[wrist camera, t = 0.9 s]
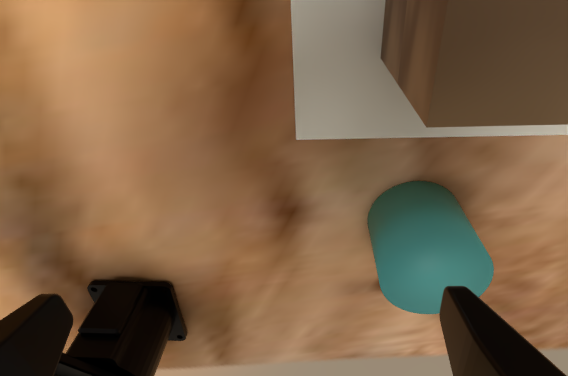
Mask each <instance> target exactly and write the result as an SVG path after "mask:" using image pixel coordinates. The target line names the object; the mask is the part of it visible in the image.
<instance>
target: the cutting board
mask: <svg viewBox="0 0 568 376" xmlns="http://www.w3.org/2000/svg"><path fill="white" fill-rule="evenodd" d="M385 1H386V0H291V20H292V46H293V72H294V98H295V124H296V140H314V139H367V138H420V137H473V136H526V135H568V125H523V126H476V127H428V128H426V126H425V125H424V123H423V122H422V120H421V119H420V117H419V116H418V114H417V113H416V111H415V110H414V108H413V107H412V105H411V104H410V102H409V101H408V99H407V97H406V96H405V94H404V93H403V91H402V90H401V88H400V87H399V85H398V84H397V82H396V81H395V79H394V78H393V76H392V75H391V73H390V72H389V70H388V69H387V67H386V66H385V64H384V63H383V61H382V60H381V47H382V35H383V24H384V12H385Z"/></svg>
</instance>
